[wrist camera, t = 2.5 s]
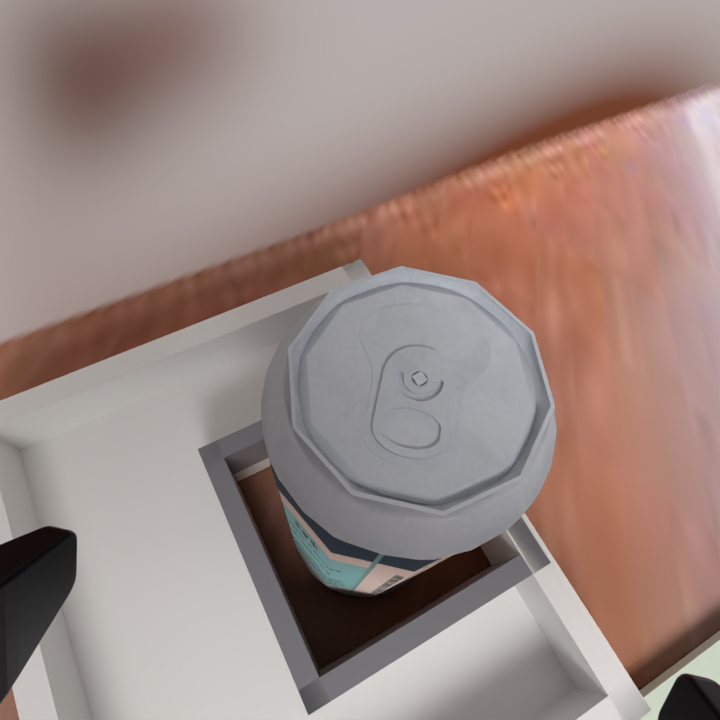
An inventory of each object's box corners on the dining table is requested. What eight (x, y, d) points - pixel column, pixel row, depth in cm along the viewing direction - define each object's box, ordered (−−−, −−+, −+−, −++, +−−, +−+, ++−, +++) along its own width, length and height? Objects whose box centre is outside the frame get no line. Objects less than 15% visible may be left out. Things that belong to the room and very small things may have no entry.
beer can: (440, 471, 19) (586, 279, 9) (419, 613, 17) (580, 588, 7) (311, 442, 20) (301, 220, 9) (276, 579, 18) (206, 502, 7)
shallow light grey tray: (598, 697, 17) (651, 710, 14) (155, 1022, 13) (112, 1125, 10) (356, 302, 22) (361, 258, 20) (4, 449, 19) (-49, 419, 16)
